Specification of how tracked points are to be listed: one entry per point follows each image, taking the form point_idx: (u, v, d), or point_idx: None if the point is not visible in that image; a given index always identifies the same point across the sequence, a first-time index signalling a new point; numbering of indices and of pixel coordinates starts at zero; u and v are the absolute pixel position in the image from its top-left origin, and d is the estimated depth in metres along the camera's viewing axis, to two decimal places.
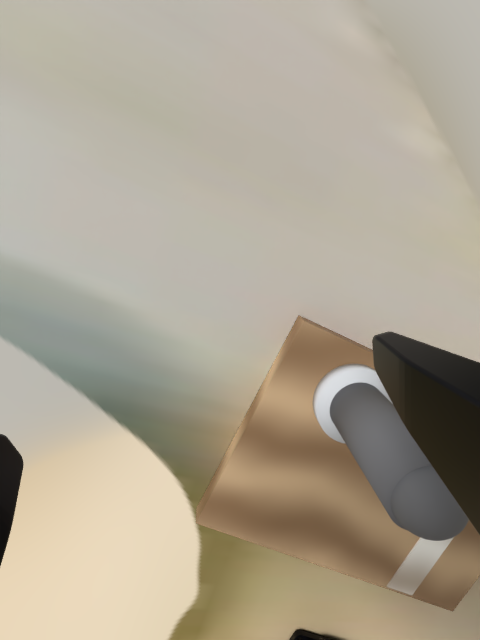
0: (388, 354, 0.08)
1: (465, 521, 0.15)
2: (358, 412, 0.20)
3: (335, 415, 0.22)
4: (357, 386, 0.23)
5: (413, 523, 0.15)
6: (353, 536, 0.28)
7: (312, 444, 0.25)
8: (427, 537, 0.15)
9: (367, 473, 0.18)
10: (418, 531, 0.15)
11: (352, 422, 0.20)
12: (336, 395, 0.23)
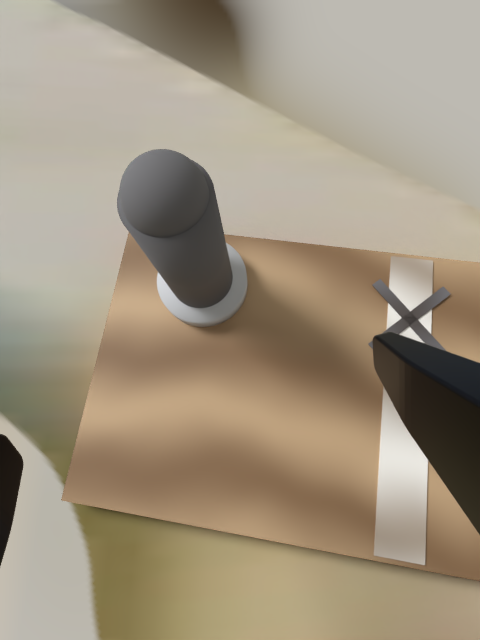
0: (388, 354, 0.08)
1: (176, 165, 0.12)
2: None
3: None
4: None
5: (126, 196, 0.12)
6: (281, 470, 0.19)
7: (179, 348, 0.21)
8: (144, 201, 0.12)
9: None
10: (133, 201, 0.12)
11: None
12: None
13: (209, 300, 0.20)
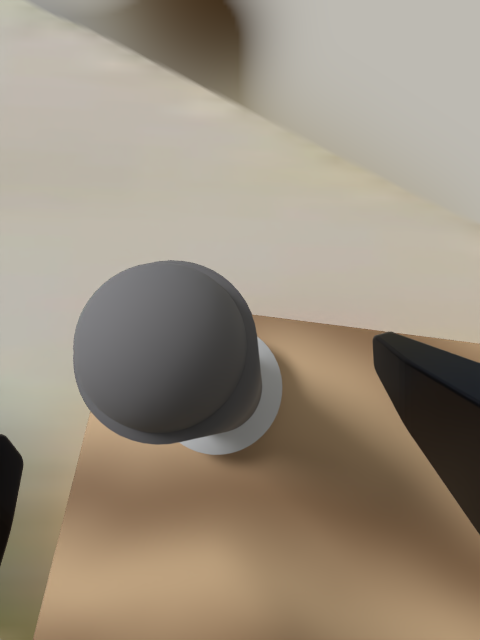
0: (388, 354, 0.08)
1: (186, 311, 0.06)
2: None
3: None
4: None
5: (84, 370, 0.06)
6: None
7: (186, 485, 0.15)
8: (118, 391, 0.06)
9: None
10: (97, 385, 0.06)
11: None
12: None
13: None
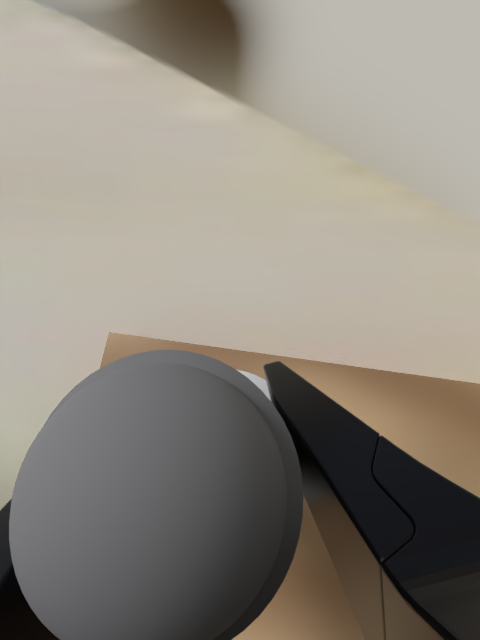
0: (269, 385, 0.08)
1: (196, 490, 0.03)
2: None
3: None
4: None
5: (21, 578, 0.04)
6: None
7: None
8: (76, 635, 0.03)
9: None
10: (41, 614, 0.03)
11: None
12: None
13: None
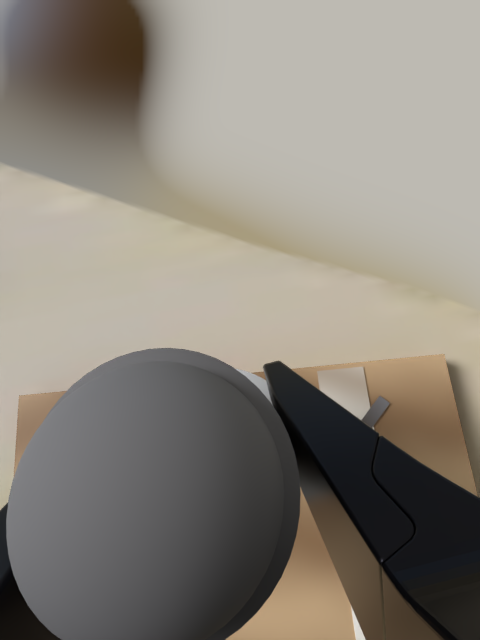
0: (269, 385, 0.08)
1: (192, 487, 0.03)
2: None
3: None
4: None
5: (18, 575, 0.04)
6: None
7: None
8: (73, 632, 0.03)
9: None
10: (38, 611, 0.03)
11: None
12: None
13: None
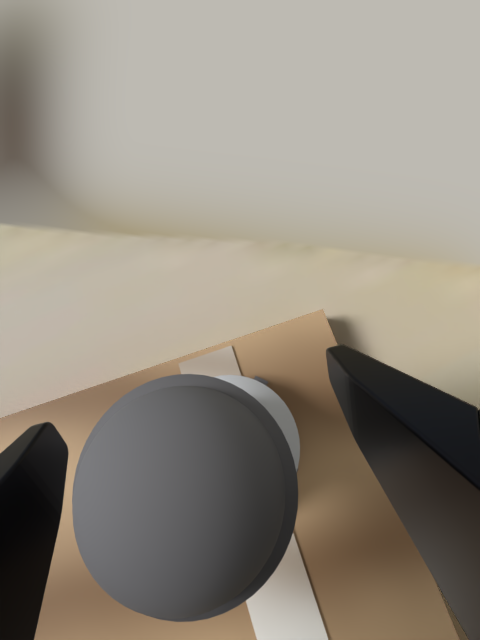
0: (337, 367, 0.08)
1: (218, 489, 0.04)
2: None
3: None
4: None
5: (86, 554, 0.05)
6: None
7: None
8: (132, 594, 0.04)
9: None
10: (104, 580, 0.05)
11: None
12: None
13: None
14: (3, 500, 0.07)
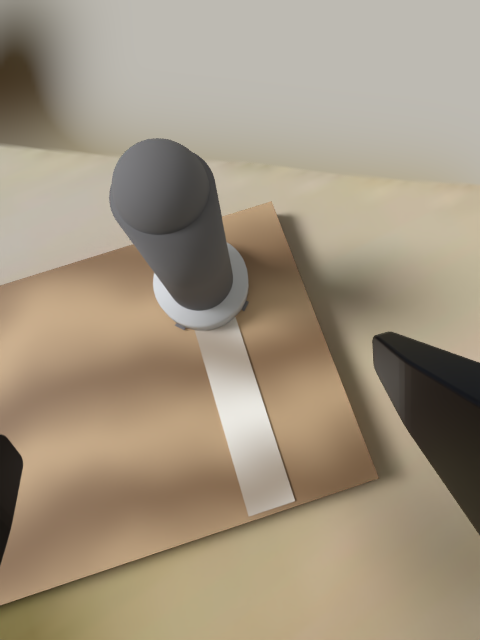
0: (388, 354, 0.08)
1: (174, 155, 0.11)
2: None
3: None
4: None
5: (119, 188, 0.11)
6: (138, 482, 0.19)
7: None
8: (138, 195, 0.11)
9: None
10: (126, 194, 0.11)
11: None
12: None
13: (208, 302, 0.19)
14: None
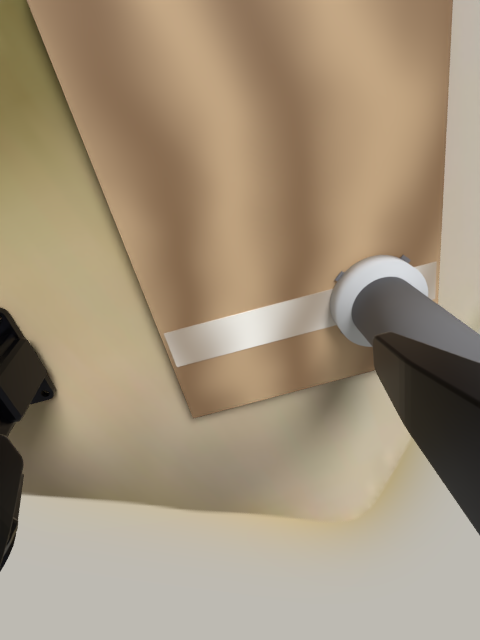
0: (388, 354, 0.08)
1: None
2: None
3: (395, 285, 0.19)
4: None
5: None
6: (192, 236, 0.18)
7: (277, 49, 0.15)
8: None
9: (449, 336, 0.14)
10: None
11: (433, 303, 0.17)
12: (402, 279, 0.19)
13: (359, 325, 0.20)
14: None
